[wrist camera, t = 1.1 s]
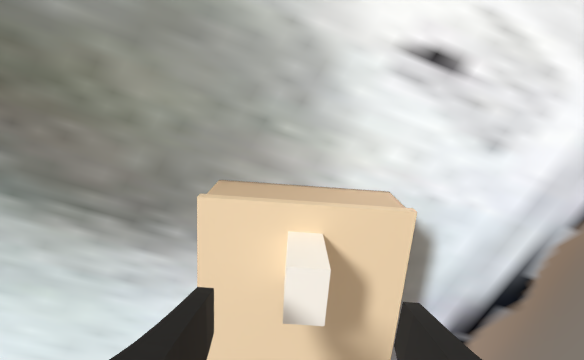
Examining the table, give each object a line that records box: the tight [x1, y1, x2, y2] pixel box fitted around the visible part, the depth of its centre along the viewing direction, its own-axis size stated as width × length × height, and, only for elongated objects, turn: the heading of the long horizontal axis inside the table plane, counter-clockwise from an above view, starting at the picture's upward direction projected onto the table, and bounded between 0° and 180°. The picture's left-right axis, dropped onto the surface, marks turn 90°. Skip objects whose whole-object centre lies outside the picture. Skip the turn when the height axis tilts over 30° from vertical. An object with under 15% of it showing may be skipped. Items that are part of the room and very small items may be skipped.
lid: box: [197, 194, 417, 360], centre depth 18 cm, size 14×12×5 cm
